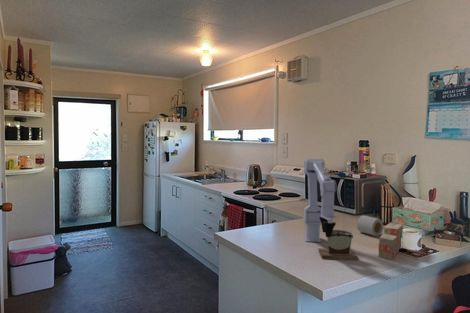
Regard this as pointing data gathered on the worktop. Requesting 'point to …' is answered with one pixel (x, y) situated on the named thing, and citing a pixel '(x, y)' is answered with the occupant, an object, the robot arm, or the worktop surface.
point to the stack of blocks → (390, 240)
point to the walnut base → (326, 255)
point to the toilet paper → (370, 225)
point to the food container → (339, 242)
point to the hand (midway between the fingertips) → (326, 234)
